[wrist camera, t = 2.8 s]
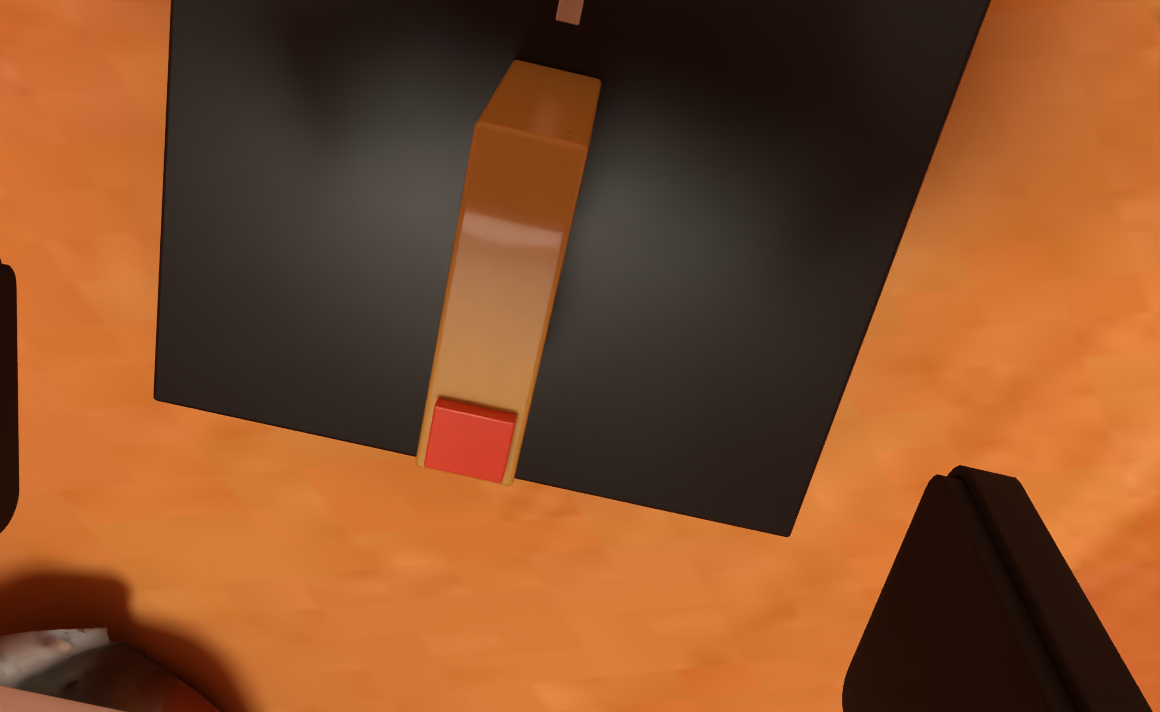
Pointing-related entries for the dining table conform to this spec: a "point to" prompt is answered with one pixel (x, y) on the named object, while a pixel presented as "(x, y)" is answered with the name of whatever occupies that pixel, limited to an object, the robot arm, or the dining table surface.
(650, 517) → the dining table surface
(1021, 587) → the robot arm
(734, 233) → the plate
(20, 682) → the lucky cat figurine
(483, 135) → the thumbturn
